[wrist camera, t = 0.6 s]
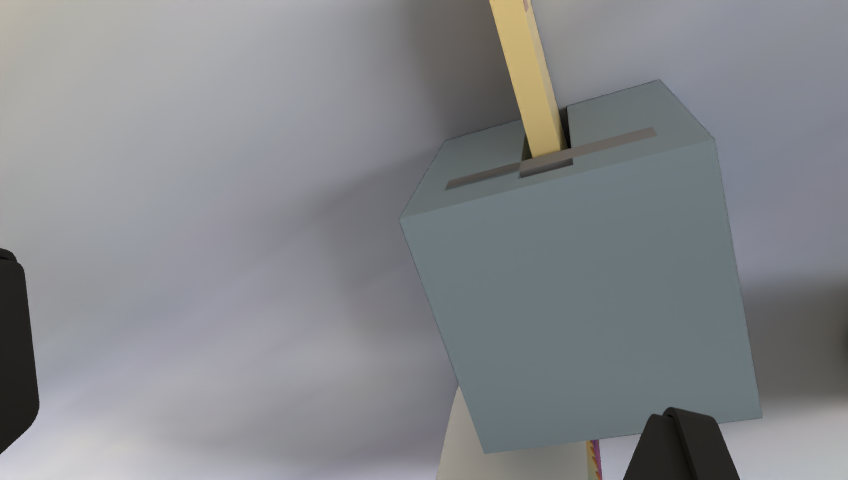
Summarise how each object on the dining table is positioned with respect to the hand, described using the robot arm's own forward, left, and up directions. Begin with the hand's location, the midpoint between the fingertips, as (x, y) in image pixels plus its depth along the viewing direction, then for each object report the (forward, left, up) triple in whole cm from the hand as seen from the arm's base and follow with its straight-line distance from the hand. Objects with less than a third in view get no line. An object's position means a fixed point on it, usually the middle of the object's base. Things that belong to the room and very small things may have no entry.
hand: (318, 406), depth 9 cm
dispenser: (-3, +6, -22) cm, 23 cm away
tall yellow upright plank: (-3, 0, -22) cm, 22 cm away
